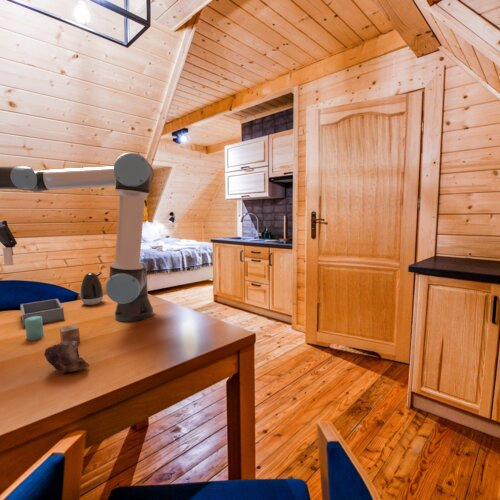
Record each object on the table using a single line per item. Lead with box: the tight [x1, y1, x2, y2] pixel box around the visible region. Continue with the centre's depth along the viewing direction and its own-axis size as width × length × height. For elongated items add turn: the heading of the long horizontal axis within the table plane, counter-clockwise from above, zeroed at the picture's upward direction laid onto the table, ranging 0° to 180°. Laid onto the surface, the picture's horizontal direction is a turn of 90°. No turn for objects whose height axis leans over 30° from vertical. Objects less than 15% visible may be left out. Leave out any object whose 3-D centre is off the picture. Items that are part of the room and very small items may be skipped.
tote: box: [19, 298, 65, 328], centre depth 131 cm, size 18×14×5 cm
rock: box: [43, 340, 89, 374], centre depth 88 cm, size 12×9×10 cm
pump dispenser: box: [79, 272, 105, 306], centre depth 150 cm, size 10×10×15 cm
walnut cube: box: [59, 324, 81, 344], centre depth 107 cm, size 5×5×5 cm
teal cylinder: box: [24, 316, 45, 341], centre depth 110 cm, size 5×5×7 cm
